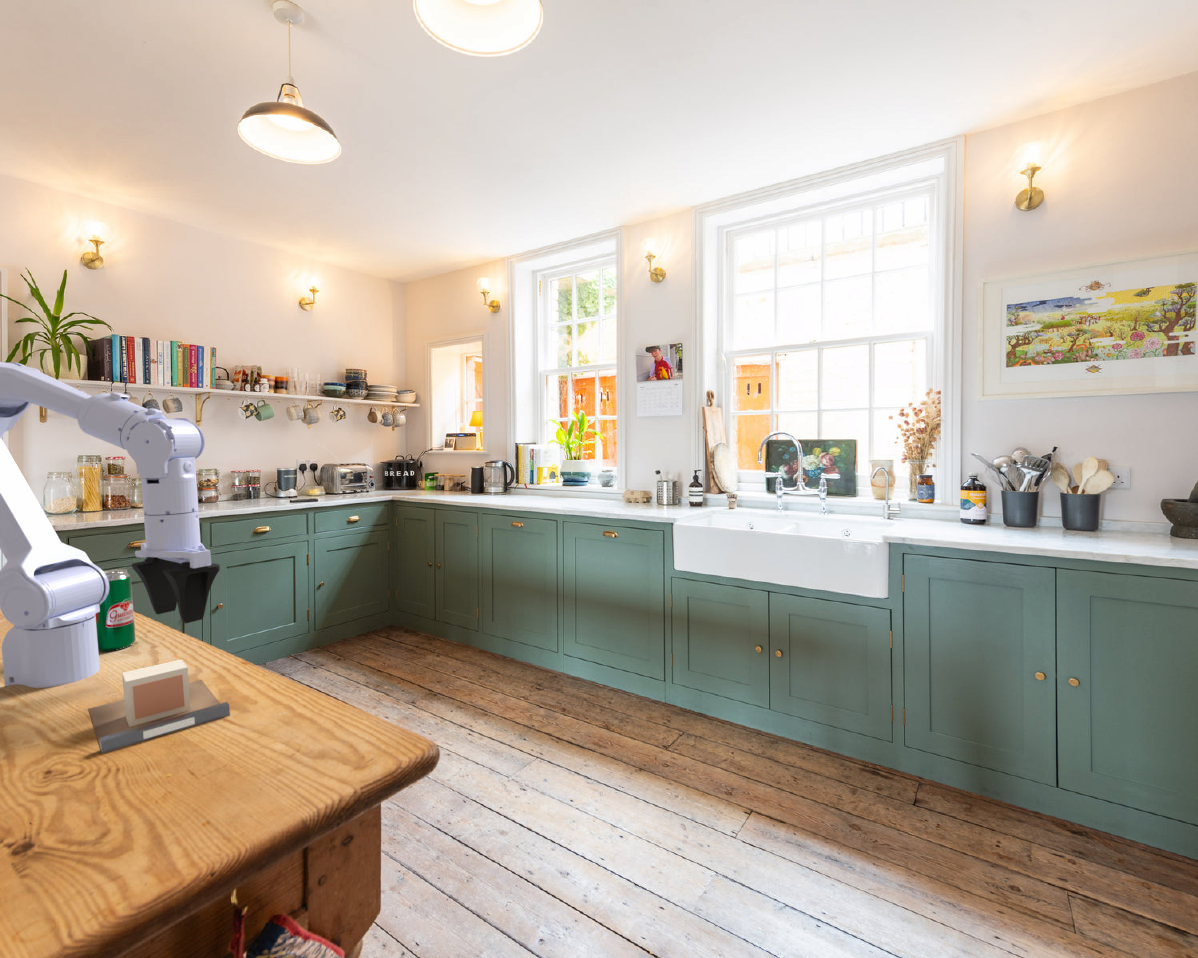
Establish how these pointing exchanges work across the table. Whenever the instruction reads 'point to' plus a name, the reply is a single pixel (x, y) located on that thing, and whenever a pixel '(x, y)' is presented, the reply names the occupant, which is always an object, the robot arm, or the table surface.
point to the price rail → (163, 727)
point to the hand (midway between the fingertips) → (178, 616)
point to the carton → (156, 692)
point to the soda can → (116, 613)
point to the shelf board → (114, 721)
